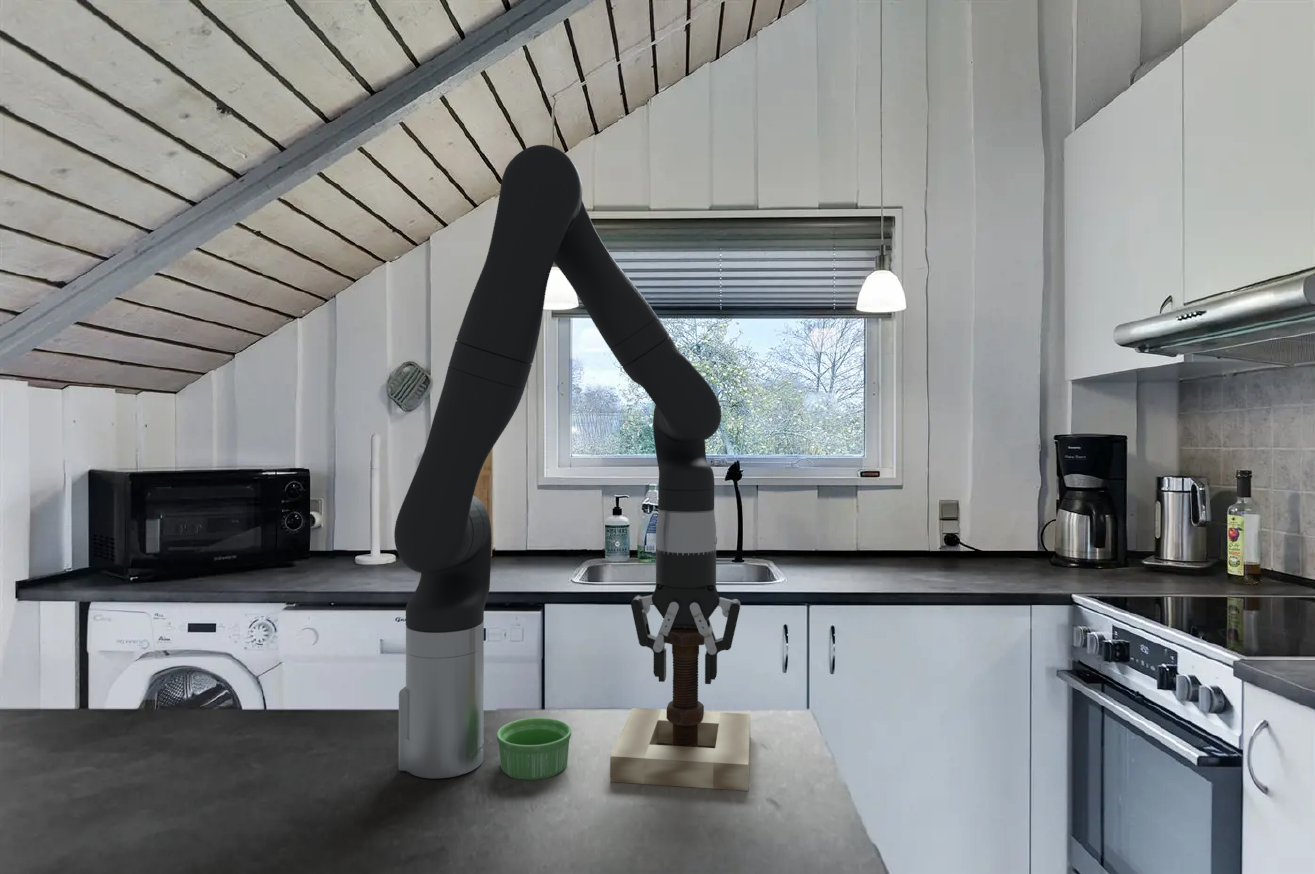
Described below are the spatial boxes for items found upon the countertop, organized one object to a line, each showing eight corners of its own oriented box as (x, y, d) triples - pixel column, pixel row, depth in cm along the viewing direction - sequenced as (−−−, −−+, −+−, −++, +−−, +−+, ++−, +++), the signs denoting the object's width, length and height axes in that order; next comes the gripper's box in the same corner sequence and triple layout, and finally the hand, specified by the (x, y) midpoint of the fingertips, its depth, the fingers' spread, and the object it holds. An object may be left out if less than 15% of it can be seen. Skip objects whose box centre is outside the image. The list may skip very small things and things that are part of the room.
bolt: (701, 758, 96) (702, 635, 95) (660, 755, 97) (661, 633, 96) (708, 740, 101) (708, 623, 101) (669, 736, 102) (670, 621, 102)
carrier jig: (610, 781, 92) (610, 755, 92) (632, 729, 108) (632, 707, 108) (748, 790, 90) (748, 764, 90) (750, 736, 106) (750, 713, 106)
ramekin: (492, 756, 99) (492, 721, 99) (563, 747, 102) (563, 713, 102) (501, 787, 91) (501, 749, 91) (578, 777, 94) (578, 740, 94)
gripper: (624, 548, 96) (623, 688, 96) (743, 551, 94) (742, 694, 94) (634, 540, 103) (633, 669, 104) (744, 542, 101) (744, 674, 102)
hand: (685, 680), depth 99 cm, fingers closed on bolt, 5 cm apart
